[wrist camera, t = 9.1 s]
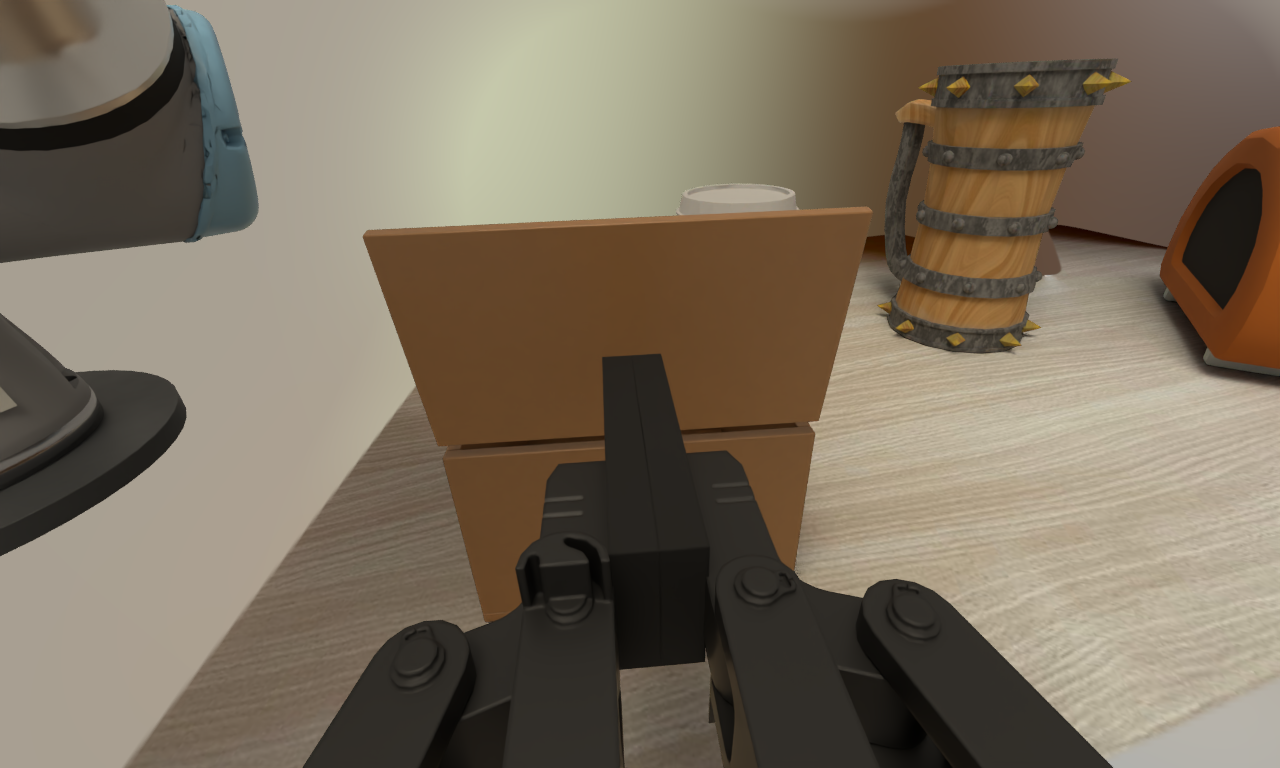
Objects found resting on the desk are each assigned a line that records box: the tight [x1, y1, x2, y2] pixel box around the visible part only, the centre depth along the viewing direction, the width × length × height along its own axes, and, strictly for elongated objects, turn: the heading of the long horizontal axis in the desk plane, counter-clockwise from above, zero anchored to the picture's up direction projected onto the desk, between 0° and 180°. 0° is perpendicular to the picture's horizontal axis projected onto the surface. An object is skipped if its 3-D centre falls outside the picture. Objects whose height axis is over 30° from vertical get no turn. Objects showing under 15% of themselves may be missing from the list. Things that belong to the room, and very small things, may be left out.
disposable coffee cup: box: [676, 184, 799, 216], centre depth 44 cm, size 10×10×12 cm
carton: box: [443, 422, 815, 622], centre depth 27 cm, size 13×15×9 cm
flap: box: [363, 207, 873, 446], centre depth 16 cm, size 13×7×1 cm
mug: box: [877, 59, 1131, 353], centre depth 44 cm, size 13×17×20 cm
